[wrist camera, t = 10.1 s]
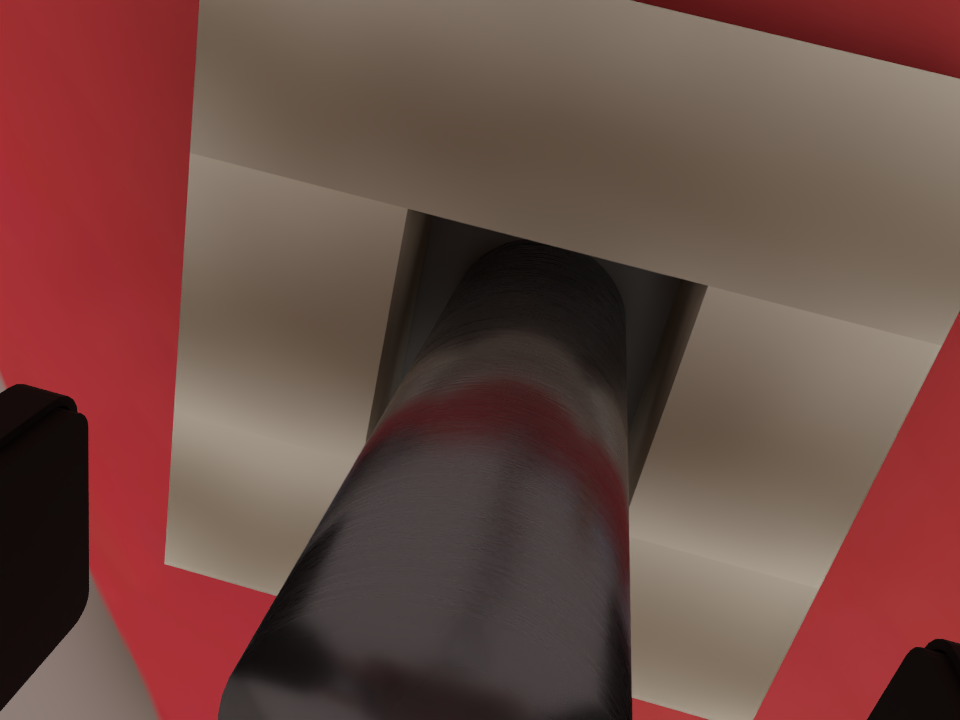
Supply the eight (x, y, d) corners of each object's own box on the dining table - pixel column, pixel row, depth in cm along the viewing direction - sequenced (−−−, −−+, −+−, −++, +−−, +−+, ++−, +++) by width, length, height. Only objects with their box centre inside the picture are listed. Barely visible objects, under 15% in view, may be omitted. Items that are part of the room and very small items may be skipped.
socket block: (294, -79, 17) (205, -102, 13) (964, 81, 16) (1064, 103, 13) (236, 475, 23) (164, 563, 19) (726, 611, 22) (747, 730, 18)
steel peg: (470, 218, 18) (235, 551, 7) (648, 264, 18) (693, 680, 7) (436, 378, 20) (203, 845, 9) (598, 421, 19) (568, 958, 8)
